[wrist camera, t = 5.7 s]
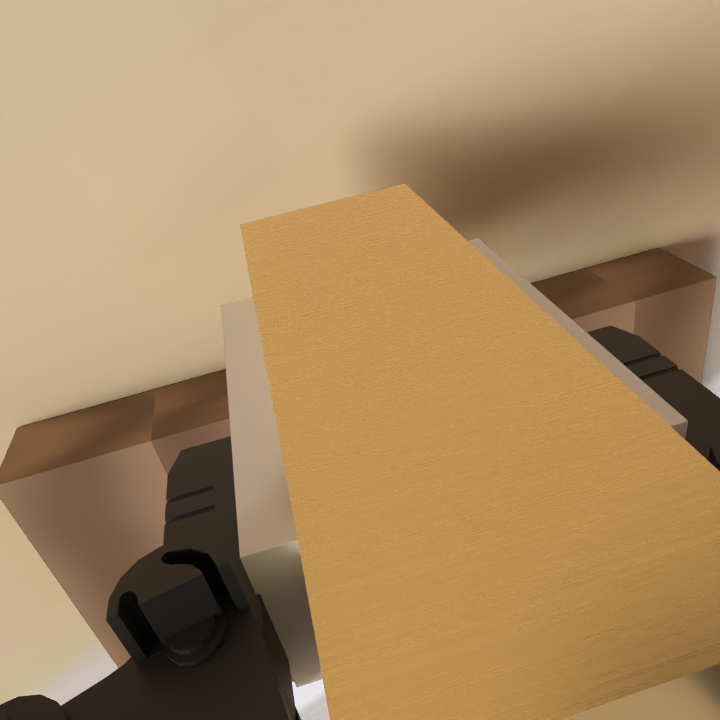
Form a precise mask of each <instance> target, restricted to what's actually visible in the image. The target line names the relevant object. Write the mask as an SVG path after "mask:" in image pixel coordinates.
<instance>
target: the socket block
mask: <svg viewBox="0 0 720 720" xmlns="http://www.w3.org/2000/svg"><path fill="white" fill-rule="evenodd" d="M716 278H717V277H715V276H713V275H711V274H709V273H707V272H705V271H703V270H701V269H699V268H697V267H695V266H693V265H691V264H690V263H688V262H686V261H684V260H682V259H680V258H678V257H676V256H674V255H672V254H670V253H668V252H666V251H664V250H662V249H661V248H657V249H653V250H650V251H646V252H643V253H639V254H636V255H632V256H628V257H625V258H621V259H618V260H614V261H611V262H607V263H603V264H600V265H596V266H593V267H589V268H586V269H582V270H578V271H575V272H571V273H568V274H564V275H561V276H557V277H554V278H550V279H546V280H543V281H539V282H536V283H532V285H533V286H534V287H535V288H536V289H537V290H538V291H540V292H541V293H542V294H543V295H544V296H545V297H546V298H548V299H549V300H550V301H551V302H552V303H553V304H555V305H556V306H557V307H558V308H559V309H560V310H561V311H563V312H564V313H565V314H566V315H567V316H568V317H569V318H571V319H572V320H573V321H574V322H575V323H576V324H577V325H579V326H580V327H581V328H582V329H583V330H584V331H585V332H589V331H593V330H596V329H600V328H603V327H607V326H610V325H611V326H614V327H616V328H619V329H622V330H624V331H627V332H630V333H632V334H635V335H638V336H640V337H641V338H642V339H644V340H645V341H646V342H648V343H649V344H650V345H651V346H653V347H654V348H655V349H657V350H658V351H659V352H660V354H661V356H666V357H667V358H668V359H670V360H671V361H672V362H673V363H675V364H676V365H677V366H678V369H679V370H681V369H682V370H684V371H685V372H686V373H688V374H689V375H690V376H691V377H693V378H694V379H695V380H697V381H698V382H699V383H701V380H702V374H703V367H704V360H705V353H706V346H707V339H708V333H709V326H710V319H711V312H712V305H713V298H714V292H715V285H716ZM229 436H231V431H230V417H229V404H228V391H227V377H226V370H222V371H218V372H215V373H211V374H208V375H204V376H201V377H197V378H194V379H190V380H186V381H183V382H179V383H176V384H172V385H169V386H165V387H161V388H158V389H154V390H151V391H147V392H144V393H140V394H136V395H133V396H129V397H126V398H122V399H119V400H115V401H112V402H108V403H104V404H101V405H97V406H94V407H90V408H87V409H83V410H79V411H76V412H72V413H69V414H65V415H62V416H58V417H54V418H51V419H47V420H44V421H40V422H37V423H33V424H30V425H26V426H22V427H19V428H17V429H16V431H15V434H14V436H13V439H12V441H11V443H10V446H9V448H8V450H7V453H6V455H5V458H4V460H3V462H2V465H1V467H0V499H1V500H2V502H3V503H4V505H5V506H6V508H7V509H8V510H9V512H10V513H11V515H12V516H13V518H14V519H15V520H16V522H17V523H18V525H19V526H20V528H21V529H22V531H23V532H24V533H25V535H26V536H27V538H28V539H29V541H30V542H31V543H32V545H33V546H34V548H35V549H36V551H37V552H38V553H39V555H40V556H41V558H42V559H43V561H44V562H45V563H46V565H47V566H48V568H49V569H50V571H51V572H52V573H53V575H54V576H55V578H56V579H57V581H58V582H59V584H60V585H61V586H62V588H63V589H64V591H65V592H66V594H67V595H68V596H69V598H70V599H71V601H72V602H73V604H74V605H75V606H76V608H77V609H78V611H79V612H80V614H81V615H82V616H83V618H84V619H85V621H86V622H87V624H88V625H89V626H90V628H91V629H92V631H93V632H94V634H95V635H96V637H97V638H98V639H99V641H100V642H101V644H102V645H103V647H104V648H105V649H106V651H107V652H108V654H109V655H110V657H111V658H112V659H113V661H114V662H115V664H116V665H117V667H118V668H120V667H121V666H122V665H124V664H125V663H126V662H127V661H128V660H129V659H130V658H131V656H130V655H129V653H128V652H127V650H126V649H125V647H124V646H123V644H122V643H121V641H120V640H119V639H118V637H117V636H116V634H115V633H114V631H113V630H112V628H111V627H110V625H109V624H108V622H107V621H106V615H107V608H108V601H109V598H110V596H111V594H112V592H113V590H114V589H115V587H116V585H117V583H118V581H119V580H120V578H121V577H122V576H123V575H124V574H125V573H126V572H127V571H128V570H129V569H130V568H131V567H132V566H133V565H134V564H135V563H136V562H137V561H138V560H139V559H141V558H142V557H144V556H146V555H147V554H149V553H150V552H152V551H154V550H155V549H157V548H159V547H161V546H163V539H164V525H165V524H166V522H165V507H166V504H167V500H166V492H167V476H168V473H169V471H170V469H171V468H172V466H173V464H174V462H175V461H176V459H177V457H178V455H179V453H180V452H181V450H183V449H187V448H190V447H194V446H197V445H201V444H204V443H208V442H211V441H215V440H218V439H222V438H225V437H229ZM290 674H291V673H290ZM291 681H292V682H293V681H294V680H293V677H292V675H291Z"/></svg>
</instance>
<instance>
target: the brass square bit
mask: <svg viewBox="0 0 720 720" xmlns="http://www.w3.org/2000/svg"><path fill="white" fill-rule="evenodd" d="M240 226H241V231H242V237H243V242H244V248H245V253H246V259H247V264H248V270H249V275H250V281H251V286H252V292H253V297H254V303H255V308H256V314H257V319H258V325H259V330H260V336H261V341H262V347H263V352H264V358H265V363H266V369H267V374H268V380H269V385H270V391H271V396H272V402H273V408H274V413H275V419H276V424H277V430H278V435H279V441H280V446H281V452H282V457H283V463H284V468H285V474H286V479H287V485H288V490H289V496H290V501H291V507H292V512H293V518H294V523H295V529H296V534H297V540H298V545H299V551H300V556H301V562H302V567H303V573H304V578H305V584H306V589H307V595H308V600H309V606H310V611H311V617H312V622H313V628H314V633H315V639H316V644H317V650H318V655H319V661H320V666H321V672H322V677H323V683H324V688H325V694H326V699H327V705H328V710H329V716H330V720H720V471H719V470H718V469H717V468H715V467H714V466H713V465H712V464H711V463H710V462H709V461H708V460H707V459H706V458H705V457H703V456H702V455H701V454H700V453H699V452H698V451H697V450H696V449H695V448H694V447H693V446H691V445H690V444H689V443H688V442H687V441H686V440H685V439H684V438H683V437H682V436H680V435H679V434H678V433H677V432H676V431H675V430H674V429H673V428H672V427H671V426H670V425H668V424H667V423H666V422H665V421H664V420H663V419H662V418H661V417H660V416H659V415H658V414H656V413H655V412H654V411H653V410H652V409H651V408H650V407H649V406H648V405H647V404H645V403H644V402H643V401H642V400H641V399H640V398H639V397H638V396H637V395H636V394H635V393H633V392H632V391H631V390H630V389H629V388H628V387H627V386H626V385H625V384H624V383H623V382H621V381H620V380H619V379H618V378H617V377H616V376H615V375H614V374H613V373H612V372H610V371H609V370H608V369H607V368H606V367H605V366H604V365H603V364H602V363H601V362H600V361H598V360H597V359H596V358H595V357H594V356H593V355H592V354H591V353H590V352H589V351H588V350H586V349H585V348H584V347H583V346H582V345H581V344H580V343H579V342H578V341H577V340H575V339H574V338H573V337H572V336H571V335H570V334H569V333H568V332H567V331H566V330H565V329H563V328H562V327H561V326H560V325H559V324H558V323H557V322H556V321H555V320H554V319H553V318H551V317H550V316H549V315H548V314H547V313H546V312H545V311H544V310H543V309H542V308H540V307H539V306H538V305H537V304H536V303H535V302H534V301H533V300H532V299H531V298H530V297H528V296H527V295H526V294H525V293H524V292H523V291H522V290H521V289H520V288H519V287H518V286H516V285H515V284H514V283H513V282H512V281H511V280H510V279H509V278H508V277H507V276H505V275H504V274H503V273H502V272H501V271H500V270H499V269H498V268H497V267H496V266H495V265H493V264H492V263H491V262H490V261H489V260H488V259H487V258H486V257H485V256H484V255H482V254H481V253H480V252H479V251H478V250H477V249H476V248H475V247H474V246H473V245H472V244H470V243H469V242H468V241H467V240H466V239H465V238H464V237H463V236H462V235H461V234H460V233H458V232H457V231H456V230H455V229H454V228H453V227H452V226H451V225H450V224H449V223H447V222H446V221H445V220H444V219H443V218H442V217H441V216H440V215H439V214H438V213H437V212H435V211H434V210H433V209H432V208H431V207H430V206H429V205H428V204H427V203H426V202H425V201H423V200H422V199H421V198H420V197H419V196H418V195H417V194H416V193H415V192H414V191H412V190H411V189H410V188H409V187H408V186H407V185H406V184H405V183H404V184H400V185H396V186H392V187H388V188H384V189H380V190H376V191H372V192H368V193H364V194H360V195H356V196H352V197H348V198H344V199H340V200H336V201H332V202H328V203H325V204H321V205H317V206H313V207H309V208H305V209H301V210H297V211H293V212H289V213H285V214H281V215H277V216H273V217H269V218H265V219H261V220H257V221H253V222H249V223H245V224H241V225H240Z"/></svg>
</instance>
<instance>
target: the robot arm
mask: <svg viewBox="0 0 720 720" xmlns="http://www.w3.org/2000/svg"><path fill="white" fill-rule="evenodd" d="M468 242H469V243H470V244H472V245H473V246H474V247H475V248H476V249H477V250H478V251H479V252H480V253H481V254H482V255H484V256H485V257H486V258H487V259H488V260H489V261H490V262H491V263H492V264H493V265H495V266H496V267H497V268H498V269H499V270H500V271H501V272H502V273H503V274H504V275H505V276H507V277H508V278H509V279H510V280H511V281H512V282H513V283H514V284H515V285H516V286H518V287H519V288H520V289H521V290H522V291H523V292H524V293H525V294H526V295H527V296H528V297H530V298H531V299H532V300H533V301H534V302H535V303H536V304H537V305H538V306H539V307H540V308H542V309H543V310H544V311H545V312H546V313H547V314H548V315H549V316H550V317H551V318H553V319H554V320H555V321H556V322H557V323H558V324H559V325H560V326H561V327H562V328H563V329H565V330H566V331H567V332H568V333H569V334H570V335H571V336H572V337H573V338H574V339H575V340H577V341H578V342H579V343H580V344H581V345H582V346H583V347H584V348H585V349H586V350H588V351H589V352H590V353H591V354H592V355H593V356H594V357H595V358H596V359H597V360H598V361H600V362H601V363H602V364H603V365H604V366H605V367H606V368H607V369H608V370H609V371H610V372H612V373H613V374H614V375H615V376H616V377H617V378H618V379H619V380H620V381H621V382H623V383H624V384H625V385H626V386H627V387H628V388H629V389H630V390H631V391H632V392H633V393H635V394H636V395H637V396H638V397H639V398H640V399H641V400H642V401H643V402H644V403H645V404H647V405H648V406H649V407H650V408H651V409H652V410H653V411H654V412H655V413H656V414H658V415H659V416H660V417H661V418H662V419H663V420H664V421H665V422H666V423H667V424H668V425H670V426H671V427H672V428H673V429H674V430H675V431H676V432H677V433H678V434H679V435H680V436H682V437H683V438H684V439H685V440H686V441H687V442H688V443H689V444H690V445H691V446H693V447H694V448H695V449H696V450H697V451H698V452H699V453H700V454H701V455H702V456H703V457H705V458H706V459H707V460H708V461H709V462H710V463H711V464H712V465H713V466H714V467H715V468H717V469H718V470H719V471H720V398H719V397H717V396H716V395H715V394H713V393H712V392H711V391H710V390H708V389H707V388H706V387H704V386H703V385H702V384H701V383H699V382H698V381H697V380H695V379H694V378H693V377H691V376H690V375H689V374H688V373H686V372H685V371H684V370H682V369H681V370H679V369H678V366H677V365H676V364H675V363H673V362H672V361H671V360H670V359H668V358H667V357H666V356H661V354H660V352H659V351H658V350H657V349H655V348H654V347H653V346H651V345H650V344H649V343H648V342H646V341H645V340H644V339H642V338H641V337H640V336H638V335H635V334H632V333H630V332H627V331H624V330H622V329H619V328H616V327H614V326H611V325H610V326H607V327H603V328H600V329H596V330H593V331H589V332H585V331H584V330H583V329H582V328H581V327H580V326H579V325H577V324H576V323H575V322H574V321H573V320H572V319H571V318H569V317H568V316H567V315H566V314H565V313H564V312H563V311H561V310H560V309H559V308H558V307H557V306H556V305H555V304H553V303H552V302H551V301H550V300H549V299H548V298H546V297H545V296H544V295H543V294H542V293H541V292H540V291H538V290H537V289H536V288H535V287H534V286H533V285H532V284H530V283H529V282H528V281H527V280H526V279H525V278H524V277H522V276H521V275H520V274H519V273H518V272H517V271H515V270H514V269H513V268H512V267H511V266H510V265H509V264H507V263H506V262H505V261H504V260H503V259H502V258H501V257H499V256H498V255H497V254H496V253H495V252H494V251H493V250H491V249H490V248H489V247H488V246H487V245H486V244H484V243H483V242H482V241H481V240H480V239H479V238H476V239H473V240H469V241H468ZM221 310H222V323H223V337H224V350H225V364H226V377H227V391H228V404H229V417H230V431H231V436H229V437H225V438H222V439H218V440H215V441H211V442H208V443H204V444H201V445H197V446H194V447H190V448H187V449H183V450H181V452H180V453H179V455H178V457H177V459H176V461H175V462H174V464H173V466H172V468H171V469H170V471H169V473H168V476H167V492H166V500H167V504H166V507H165V522H166V524H165V525H164V539H163V546H161V547H159V548H157V549H155V550H154V551H152V552H150V553H149V554H147V555H146V556H144V557H142V558H141V559H139V560H138V561H137V562H136V563H135V564H134V565H133V566H132V567H131V568H130V569H129V570H128V571H127V572H126V573H125V574H124V575H123V576H122V577H121V578H120V580H119V581H118V583H117V585H116V587H115V589H114V590H113V592H112V594H111V596H110V598H109V601H108V608H107V615H106V621H107V622H108V624H109V625H110V627H111V628H112V630H113V631H114V633H115V634H116V636H117V637H118V639H119V640H120V641H121V643H122V644H123V646H124V647H125V649H126V650H127V652H128V653H129V655H130V656H131V658H130V659H129V660H128V661H127V662H126V663H125V664H124V665H122V666H121V667H120V668H118V669H117V670H116V671H114V672H113V673H112V674H110V675H109V676H108V677H106V678H104V679H103V680H101V681H100V682H98V683H97V684H95V685H93V686H92V687H90V688H89V689H87V690H85V691H84V692H82V693H81V694H79V695H78V696H76V697H74V698H73V699H71V700H70V701H68V702H66V703H65V704H63V705H62V706H60V705H59V703H58V702H56V701H54V700H52V699H49V698H47V697H45V696H43V695H31V696H20V697H17V698H14V699H12V700H10V701H8V702H6V703H3V704H1V705H0V720H301V718H300V716H299V714H298V711H297V709H296V707H295V703H294V696H293V688H292V681H291V675H292V677H293V680H294V682H295V684H296V687H299V686H302V685H305V684H308V683H311V682H314V681H317V680H320V679H323V677H322V672H321V666H320V661H319V655H318V650H317V644H316V639H315V633H314V628H313V622H312V617H311V611H310V606H309V600H308V595H307V589H306V584H305V578H304V573H303V567H302V562H301V556H300V551H299V545H298V540H297V534H296V529H295V523H294V518H293V512H292V507H291V501H290V496H289V490H288V485H287V479H286V474H285V468H284V463H283V457H282V452H281V446H280V441H279V435H278V430H277V424H276V419H275V413H274V408H273V402H272V396H271V391H270V385H269V380H268V374H267V369H266V363H265V358H264V352H263V347H262V341H261V336H260V330H259V325H258V319H257V314H256V308H255V303H254V298H250V299H246V300H242V301H238V302H235V303H231V304H227V305H223V306H221ZM290 673H291V674H290Z"/></svg>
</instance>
